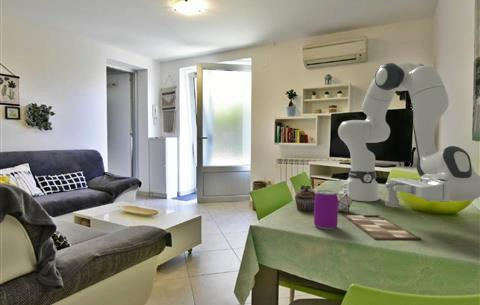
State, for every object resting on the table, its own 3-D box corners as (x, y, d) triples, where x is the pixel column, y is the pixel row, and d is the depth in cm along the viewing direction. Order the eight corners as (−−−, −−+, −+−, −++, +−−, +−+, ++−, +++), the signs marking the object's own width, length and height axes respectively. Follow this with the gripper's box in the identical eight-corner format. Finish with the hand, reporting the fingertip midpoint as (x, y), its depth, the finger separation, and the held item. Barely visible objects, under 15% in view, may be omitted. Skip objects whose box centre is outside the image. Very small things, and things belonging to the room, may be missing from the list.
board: (343, 215, 113) (343, 214, 113) (378, 216, 114) (378, 215, 114) (375, 239, 87) (375, 238, 87) (421, 240, 88) (421, 238, 88)
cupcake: (320, 212, 118) (321, 188, 118) (296, 212, 119) (297, 187, 118) (315, 206, 128) (315, 184, 127) (293, 206, 128) (293, 183, 128)
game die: (346, 221, 119) (357, 205, 113) (326, 212, 121) (335, 196, 114) (347, 206, 126) (358, 191, 120) (328, 198, 127) (338, 182, 121)
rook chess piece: (381, 204, 99) (382, 180, 99) (394, 203, 99) (394, 180, 99) (389, 207, 95) (390, 182, 94) (402, 207, 95) (403, 182, 95)
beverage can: (313, 228, 97) (314, 193, 96) (314, 222, 104) (315, 189, 104) (337, 231, 95) (339, 194, 94) (336, 224, 102) (337, 190, 102)
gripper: (412, 174, 107) (375, 173, 107) (454, 182, 87) (408, 182, 87) (411, 191, 107) (374, 190, 107) (453, 203, 87) (407, 203, 87)
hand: (389, 187), depth 97 cm, fingers closed on rook chess piece, 3 cm apart
